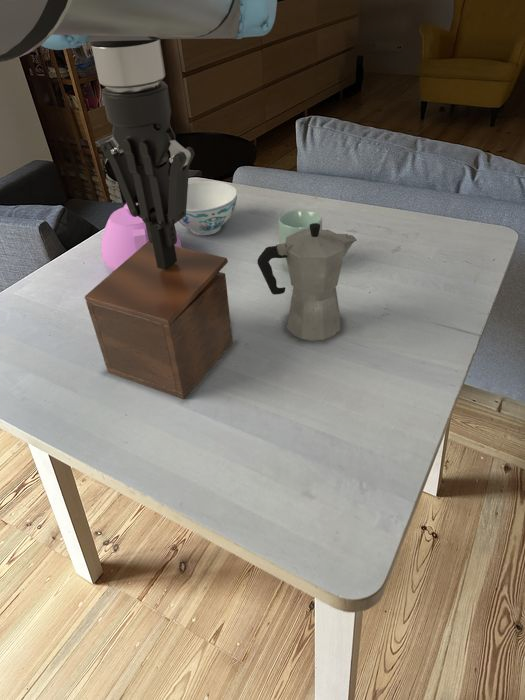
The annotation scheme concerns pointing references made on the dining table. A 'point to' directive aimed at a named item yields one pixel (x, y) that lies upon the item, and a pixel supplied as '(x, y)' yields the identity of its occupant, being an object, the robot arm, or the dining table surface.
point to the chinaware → (208, 206)
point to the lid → (156, 284)
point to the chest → (167, 341)
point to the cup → (296, 224)
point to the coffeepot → (310, 279)
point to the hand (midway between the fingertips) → (167, 264)
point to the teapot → (123, 237)
